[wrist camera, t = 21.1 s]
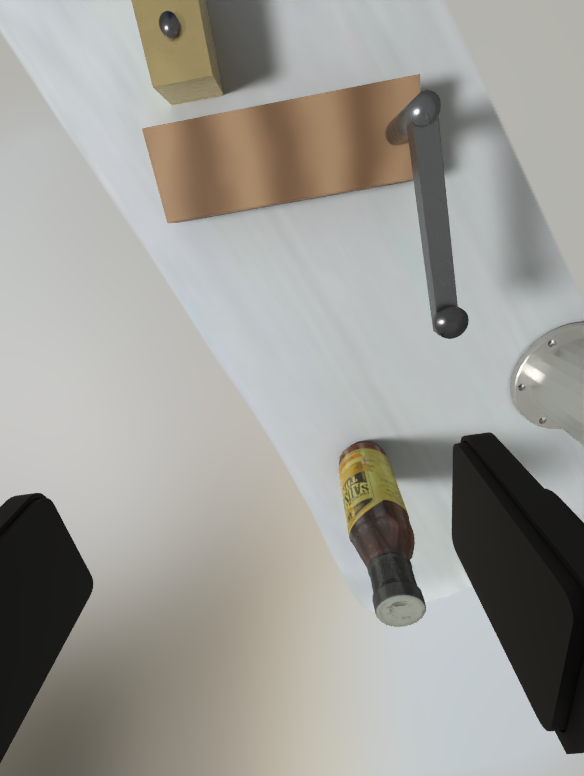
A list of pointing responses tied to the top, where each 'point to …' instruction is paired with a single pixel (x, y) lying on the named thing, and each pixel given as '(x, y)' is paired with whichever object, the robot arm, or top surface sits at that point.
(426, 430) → the top surface
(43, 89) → the top surface
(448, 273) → the lever
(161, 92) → the tan knob block
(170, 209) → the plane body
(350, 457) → the sauce bottle
